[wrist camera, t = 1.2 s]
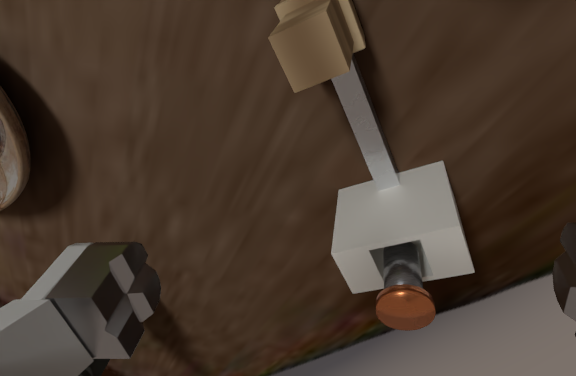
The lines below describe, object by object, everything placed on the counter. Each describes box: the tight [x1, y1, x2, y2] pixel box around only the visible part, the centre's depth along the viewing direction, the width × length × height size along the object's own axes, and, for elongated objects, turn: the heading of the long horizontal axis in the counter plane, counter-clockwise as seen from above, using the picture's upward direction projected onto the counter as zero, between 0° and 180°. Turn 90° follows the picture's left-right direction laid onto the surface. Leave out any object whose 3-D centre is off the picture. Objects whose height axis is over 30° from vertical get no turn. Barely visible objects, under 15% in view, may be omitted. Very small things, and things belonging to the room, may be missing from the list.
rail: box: [331, 53, 400, 191], centre depth 33 cm, size 2×18×2 cm, turn 26°
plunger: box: [376, 242, 435, 330], centre depth 31 cm, size 4×4×6 cm
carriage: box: [268, 0, 366, 93], centre depth 27 cm, size 5×5×9 cm
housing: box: [331, 161, 475, 294], centre depth 36 cm, size 10×5×9 cm, turn 116°
